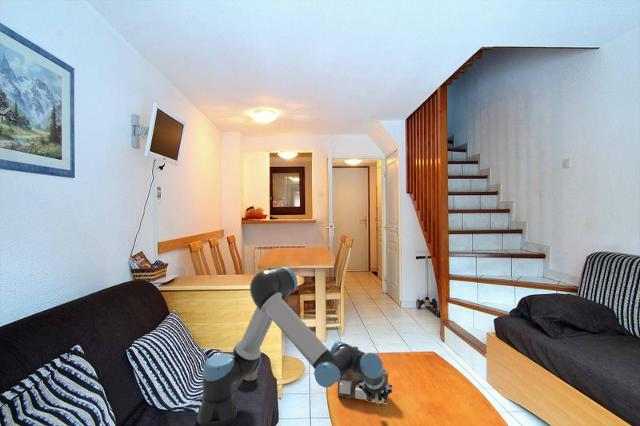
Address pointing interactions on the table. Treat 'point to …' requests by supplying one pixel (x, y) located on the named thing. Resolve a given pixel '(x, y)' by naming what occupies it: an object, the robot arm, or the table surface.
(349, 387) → the left button
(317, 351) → the robot arm
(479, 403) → the table surface
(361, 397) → the middle button
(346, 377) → the console
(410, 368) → the table surface
